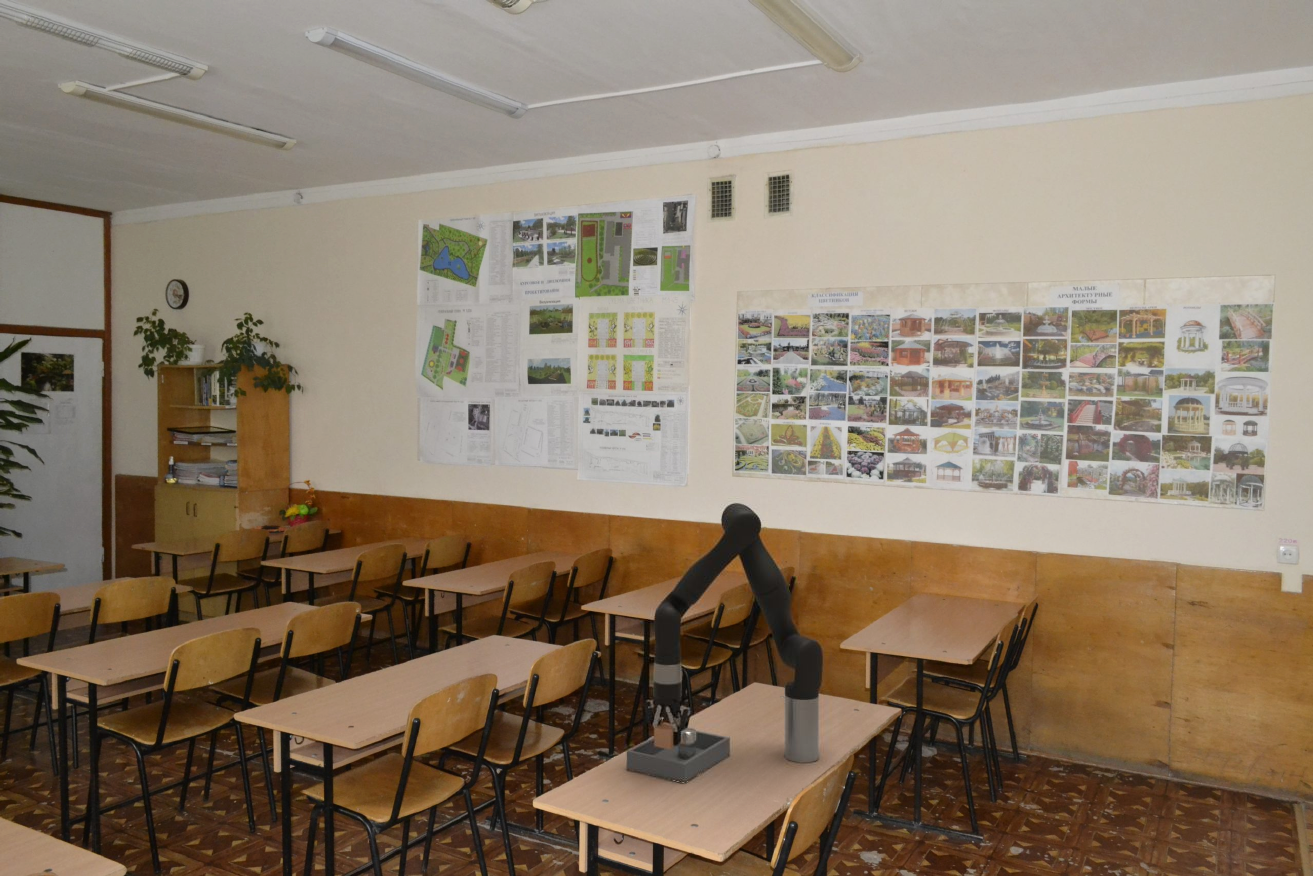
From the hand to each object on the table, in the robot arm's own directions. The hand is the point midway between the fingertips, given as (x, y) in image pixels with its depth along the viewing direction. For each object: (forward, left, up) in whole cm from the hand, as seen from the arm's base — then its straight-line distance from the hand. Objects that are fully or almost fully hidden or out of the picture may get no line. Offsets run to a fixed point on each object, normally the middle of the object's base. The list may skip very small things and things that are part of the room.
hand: (667, 742), depth 251 cm
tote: (-6, 0, -7) cm, 10 cm away
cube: (0, 0, -1) cm, 1 cm away
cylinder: (-10, 0, -7) cm, 12 cm away
